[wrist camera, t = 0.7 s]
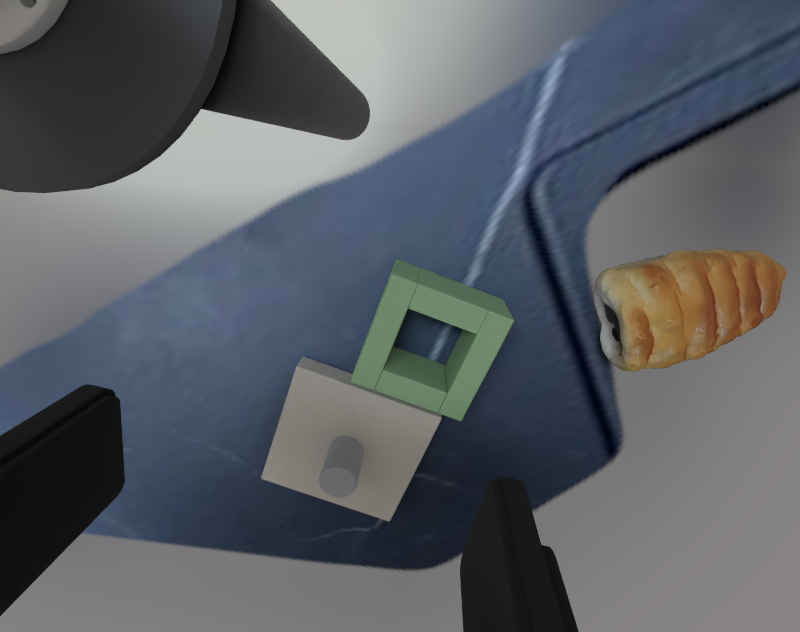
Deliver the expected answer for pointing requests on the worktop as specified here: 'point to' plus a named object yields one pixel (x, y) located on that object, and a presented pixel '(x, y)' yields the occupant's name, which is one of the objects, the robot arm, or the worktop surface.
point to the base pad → (353, 417)
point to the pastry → (683, 304)
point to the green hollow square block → (420, 376)
